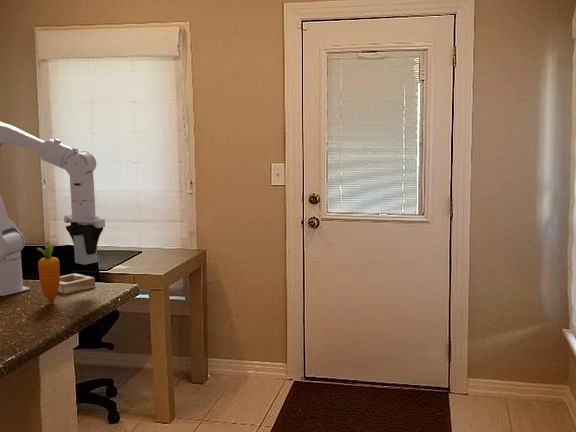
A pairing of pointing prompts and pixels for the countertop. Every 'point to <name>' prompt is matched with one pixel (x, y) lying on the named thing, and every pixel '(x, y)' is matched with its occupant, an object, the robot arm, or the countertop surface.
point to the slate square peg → (83, 251)
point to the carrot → (49, 273)
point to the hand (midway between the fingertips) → (85, 253)
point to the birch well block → (75, 283)
